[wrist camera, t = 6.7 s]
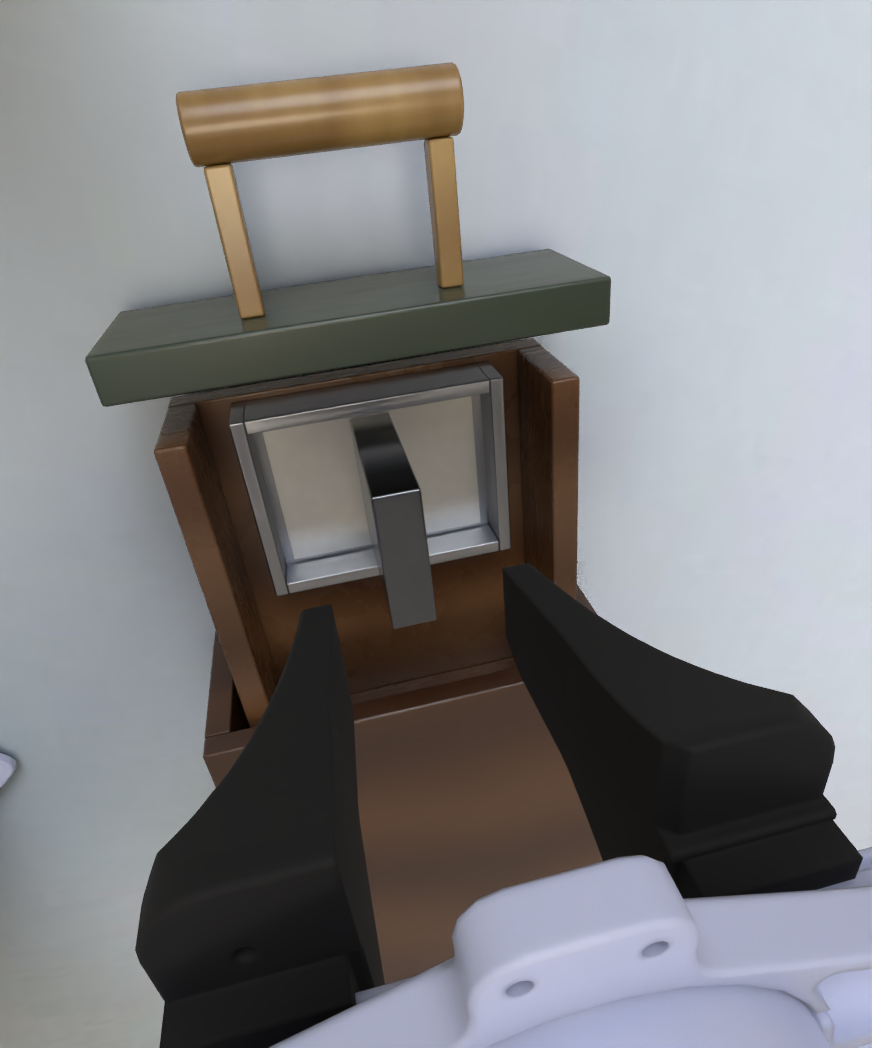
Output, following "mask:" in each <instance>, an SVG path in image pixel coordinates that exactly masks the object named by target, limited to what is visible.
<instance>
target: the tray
mask: <svg viewBox="0 0 872 1048" xmlns="http://www.w3.org/2000/svg"><path fill="white" fill-rule="evenodd" d="M229 428H230V432H231V436H232V439H233V443H234V446H235V450H236V454H237V457H238V461H239V464H240V468H241V471H242V475H243V479H244V482H245V486H246V489H247V493H248V497H249V500H250V504H251V507H252V511H253V514H254V518H255V522H256V525H257V529H258V532H259V536H260V540H261V543H262V547H263V550H264V554H265V557H266V561H267V565H268V568H269V572H270V575H271V579H272V583H273V586H274V590H275V593H276V596H281V595H286V594H289V593H290V594H291V593H296V592H301V591H306V590H311V589H315V588H320V587H325V586H330V585H335V584H340V583H345V582H350V581H355V580H359V579H364V578H369V577H374V576H379V575H380V579H381V583H382V587H383V591H384V595H385V599H386V603H387V607H388V611H389V615H390V619H391V623H392V627H393V628H394V629H398V628H402V627H407V626H412V625H416V624H421V623H426V622H430V621H435V620H436V619H437V614H436V606H435V598H434V590H433V582H432V574H431V566H430V565H433V564H438V563H443V562H447V561H452V560H457V559H462V558H467V557H472V556H477V555H482V554H487V553H491V552H496V551H499V549H500V550H506V549H510V548H511V531H510V510H509V489H508V468H507V447H506V426H505V405H504V384H503V377H502V376H501V375H500V374H499V373H498V372H497V371H496V370H495V368H494V367H493V366H492V365H491V364H490V363H489V362H488V361H484V362H478V363H472V364H466V365H460V366H454V367H448V368H443V369H437V370H431V371H425V372H419V373H413V374H407V375H401V376H395V377H389V378H383V379H377V380H371V381H365V382H359V383H353V384H347V385H341V386H335V387H329V388H323V389H317V390H311V391H305V392H299V393H293V394H287V395H281V396H275V397H269V398H263V399H257V400H251V401H245V402H239V403H233V404H231V411H230V419H229Z"/></svg>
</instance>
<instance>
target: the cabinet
mask: <svg viewBox="0 0 872 1048" xmlns="http://www.w3.org/2000/svg"><path fill="white" fill-rule="evenodd" d="M576 600H577V601H578V602H580V603H581V604H582V605H584V606H585V607H587V608H588V609H589V610H591V611H592V612H594V613H595V614H596V612H595V611H594V609H593V608H592V606H591V605H590V603H589V601H588V600H587V598H586V597H585V595H584V594H583V592H582V591H581V589H580V588H579V586H578V585H577V589H576ZM352 706H353V713H354V731H355V750H356V770H357V790H358V806H359V817H360V826H361V832H362V839H363V846H364V852H365V859H366V866H367V872H368V879H369V885H370V892H371V898H372V905H373V911H374V918H375V924H376V931H377V937H378V943H379V950H380V956H381V962H382V968H383V975H384V981H385V984H389V983H392V982H396V981H399V980H403V979H406V978H410V977H413V976H416V975H418V974H420V973H422V972H424V971H426V970H428V969H430V968H432V967H434V966H436V965H438V964H440V963H442V962H444V961H447V960H449V959H451V958H453V957H454V954H455V953H454V946H453V940H452V935H453V932H454V928H455V925H456V921H457V919H458V918H459V916H460V915H461V914H462V913H463V912H464V911H465V910H466V909H467V908H468V907H469V906H470V905H472V904H473V903H474V902H475V901H476V900H477V899H479V898H482V897H484V896H486V895H488V894H491V893H493V892H495V891H498V890H500V889H503V888H506V887H510V886H514V885H518V884H521V883H525V882H529V881H532V880H536V879H540V878H543V877H547V876H551V875H555V874H558V873H562V872H566V871H569V870H573V869H577V868H580V867H584V866H588V865H591V864H595V863H599V862H603V860H602V857H601V854H600V852H599V849H598V846H597V843H596V841H595V838H594V835H593V833H592V830H591V828H590V825H589V822H588V820H587V817H586V814H585V812H584V809H583V806H582V804H581V801H580V799H579V796H578V794H577V791H576V788H575V786H574V783H573V781H572V778H571V776H570V773H569V771H568V768H567V766H566V764H565V762H564V760H563V758H562V756H561V753H560V751H559V749H558V748H557V746H556V744H555V742H554V740H553V738H552V736H551V734H550V732H549V730H548V728H547V726H546V724H545V723H544V721H543V719H542V717H541V715H540V713H539V711H538V709H537V707H536V705H535V703H534V701H533V700H532V698H531V696H530V694H529V692H528V690H527V688H526V686H525V684H524V682H523V680H522V678H521V676H520V674H519V671H518V669H517V667H514V668H510V669H506V670H501V671H497V672H493V673H488V674H484V675H479V676H475V677H471V678H466V679H462V680H457V681H453V682H449V683H444V684H440V685H436V686H431V687H427V688H422V689H418V690H414V691H409V692H405V693H400V694H396V695H392V696H387V697H383V698H378V699H374V700H370V701H365V702H361V703H357V704H352ZM256 727H257V726H256ZM256 727H251V728H250V726H249V723H248V720H247V717H246V715H245V712H244V709H243V706H242V703H241V700H240V697H239V695H238V692H237V689H236V686H235V683H234V680H233V677H232V675H231V672H230V669H229V666H228V663H227V660H226V657H225V654H224V652H223V649H222V646H221V643H220V640H219V637H218V634H217V632H215V641H214V649H213V659H212V670H211V680H210V690H209V700H208V710H207V720H206V730H205V743H204V753H203V758H204V760H205V763H206V765H207V767H208V770H209V772H210V775H211V777H212V779H213V782H214V784H215V787H217V786H218V785H219V784H220V782H221V781H222V780H223V778H224V777H225V776H226V774H227V773H228V771H229V770H230V769H231V767H232V766H233V764H234V763H235V761H236V760H237V758H238V757H239V755H240V753H241V752H242V750H243V749H244V747H245V746H246V744H247V743H248V741H249V739H250V738H251V736H252V734H253V732H254V731H255V729H256Z"/></svg>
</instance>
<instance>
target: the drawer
mask: <svg viewBox="0 0 872 1048" xmlns="http://www.w3.org/2000/svg"><path fill="white" fill-rule="evenodd" d="M176 105H177V111H178V116H179V120H180V125H181V129H182V133H183V137H184V140H185V144H186V147H187V150H188V153H189V156H190V159H191V161H192V163H193V165H194V166H196V167H203V166H206V167H205V168H204V174H205V178H206V182H207V186H208V190H209V194H210V198H211V202H212V206H213V210H214V214H215V218H216V222H217V226H218V230H219V234H220V238H221V242H222V246H223V250H224V254H225V259H226V263H227V267H228V271H229V275H230V279H231V283H232V287H233V291H234V295H232V296H225V297H218V298H212V299H205V300H198V301H191V302H184V303H178V304H171V305H164V306H157V307H150V308H144V309H137V310H130V311H123V312H120V313H119V314H118V315H117V317H116V318H115V319H114V321H113V322H112V323H111V325H110V326H109V327H108V329H107V330H106V331H105V333H104V334H103V335H102V337H101V338H100V339H99V340H98V342H97V343H96V344H95V346H94V347H93V348H92V350H91V351H90V352H89V354H88V355H87V356H86V358H85V362H86V364H87V367H88V370H89V372H90V375H91V377H92V380H93V383H94V385H95V388H96V391H97V393H98V396H99V399H100V401H101V404H102V405H103V406H106V407H108V406H114V405H120V404H126V403H133V402H139V401H145V400H151V399H157V398H163V397H169V396H175V395H181V394H187V393H194V392H200V391H206V390H212V389H218V388H224V387H230V386H236V385H242V384H248V383H255V382H261V381H267V380H273V379H279V378H285V377H291V376H297V375H303V374H309V373H315V372H322V371H328V370H334V369H340V368H346V367H352V366H358V365H364V364H370V363H376V362H383V361H389V360H395V359H401V358H407V357H413V356H419V355H425V354H431V353H437V352H443V351H450V350H456V349H462V348H468V347H474V346H480V345H486V344H492V343H498V342H504V341H511V340H517V339H523V338H529V337H535V336H541V335H547V334H553V333H559V332H565V331H572V330H578V329H584V328H590V327H596V326H602V325H607V324H609V317H610V289H611V279H610V277H609V276H607V275H605V274H603V273H601V272H598V271H596V270H594V269H592V268H590V267H588V266H585V265H583V264H581V263H579V262H577V261H575V260H572V259H570V258H568V257H566V256H564V255H562V254H559V253H557V252H555V251H553V250H551V249H544V250H538V251H531V252H524V253H517V254H510V255H504V256H497V257H490V258H483V259H476V260H470V261H463V262H462V250H461V236H460V223H459V209H458V196H457V182H456V169H455V155H454V141H453V138H452V137H448V136H456V135H458V134H460V132H461V130H462V125H463V118H464V98H463V88H462V82H461V77H460V74H459V71H458V68H457V66H456V65H455V64H454V63H443V64H433V65H424V66H415V67H406V68H397V69H387V70H378V71H369V72H360V73H351V74H341V75H332V76H323V77H314V78H305V79H295V80H286V81H277V82H268V83H258V84H249V85H240V86H231V87H222V88H212V89H203V90H194V91H185V92H179V93H177V94H176ZM423 139H425V140H424V149H425V159H426V170H427V181H428V191H429V202H430V213H431V224H432V234H433V245H434V256H435V266H429V267H422V268H415V269H409V270H402V271H395V272H388V273H381V274H375V275H368V276H361V277H354V278H347V279H341V280H334V281H327V282H320V283H313V284H307V285H300V286H293V287H286V288H280V289H273V290H266V291H261V289H260V285H259V280H258V276H257V272H256V267H255V263H254V258H253V254H252V250H251V245H250V241H249V236H248V232H247V228H246V223H245V219H244V214H243V210H242V205H241V201H240V197H239V192H238V188H237V183H236V179H235V175H234V170H233V166H232V164H231V163H236V162H244V161H252V160H260V159H269V158H277V157H285V156H293V155H301V154H309V153H318V152H326V151H334V150H342V149H350V148H358V147H366V146H375V145H383V144H391V143H399V142H407V141H415V140H423ZM484 361H488V362H489V363H490V364H491V365H492V366H493V367H494V368H495V370H496V371H497V372H498V373H499V374H500V375H501V376H502V377H503V384H504V405H505V426H506V447H507V468H508V489H509V510H510V531H511V548H510V549H506V550H500V549H499V551H496V552H491V553H487V554H482V555H477V556H472V557H467V558H462V559H457V560H452V561H447V562H443V563H438V564H433V565H430V566H431V574H432V582H433V590H434V598H435V606H436V614H437V619H436V620H435V621H430V622H426V623H421V624H416V625H412V626H407V627H402V628H398V629H394V628H393V627H392V623H391V619H390V615H389V611H388V607H387V603H386V599H385V595H384V591H383V587H382V583H381V579H380V575H379V576H374V577H369V578H364V579H359V580H355V581H350V582H345V583H340V584H335V585H330V586H325V587H320V588H315V589H311V590H306V591H301V592H296V593H291V594H290V593H289V594H286V595H281V596H276V593H275V590H274V586H273V583H272V579H271V575H270V572H269V568H268V565H267V561H266V557H265V554H264V550H263V547H262V543H261V540H260V536H259V532H258V529H257V525H256V522H255V518H254V514H253V511H252V507H251V504H250V500H249V497H248V493H247V489H246V486H245V482H244V479H243V475H242V471H241V468H240V464H239V461H238V457H237V454H236V450H235V446H234V443H233V439H232V436H231V432H230V428H229V419H230V411H231V404H233V403H239V402H245V401H251V400H257V399H263V398H269V397H275V396H281V395H287V394H293V393H299V392H305V391H311V390H317V389H323V388H329V387H335V386H341V385H347V384H353V383H359V382H365V381H371V380H377V379H383V378H389V377H395V376H401V375H407V374H413V373H419V372H425V371H431V370H437V369H443V368H448V367H454V366H460V365H466V364H472V363H478V362H484ZM578 442H579V377H578V376H577V375H576V374H575V373H573V372H572V371H571V370H570V369H568V368H567V367H566V366H565V365H564V364H562V363H561V362H560V361H559V360H558V359H556V358H555V357H554V356H553V355H552V354H550V353H549V352H548V351H547V350H546V349H544V348H543V347H542V346H541V345H540V344H539V343H538V342H537V341H536V340H534V339H526V340H520V341H514V342H508V343H502V344H496V345H489V346H483V347H477V348H471V349H465V350H459V351H453V352H447V353H441V354H435V355H429V356H423V357H416V358H410V359H404V360H398V361H392V362H386V363H380V364H374V365H368V366H362V367H356V368H350V369H343V370H337V371H331V372H325V373H319V374H313V375H307V376H301V377H295V378H289V379H283V380H277V381H270V382H264V383H258V384H252V385H246V386H240V387H234V388H228V389H222V390H216V391H210V392H203V393H197V394H191V395H185V396H179V397H173V398H171V401H170V404H169V407H168V411H167V414H166V417H165V420H164V423H163V426H162V429H161V432H160V435H159V438H158V441H157V444H156V447H155V450H154V454H155V457H156V460H157V463H158V466H159V469H160V471H161V474H162V477H163V480H164V483H165V486H166V489H167V491H168V494H169V497H170V500H171V503H172V506H173V509H174V511H175V514H176V517H177V520H178V523H179V526H180V529H181V531H182V534H183V537H184V540H185V543H186V546H187V549H188V551H189V554H190V557H191V560H192V563H193V566H194V569H195V572H196V574H197V577H198V580H199V583H200V586H201V589H202V592H203V594H204V597H205V600H206V603H207V606H208V609H209V612H210V614H211V617H212V620H213V623H214V626H215V629H216V632H217V634H218V637H219V640H220V643H221V646H222V649H223V652H224V654H225V657H226V660H227V663H228V666H229V669H230V672H231V675H232V677H233V680H234V683H235V686H236V689H237V692H238V695H239V697H240V700H241V703H242V706H243V709H244V712H245V715H246V717H247V720H248V723H249V726H250V728H251V727H256V726H257V725H258V724H259V722H260V720H261V718H262V716H263V714H264V712H265V710H266V708H267V706H268V704H269V702H270V700H271V697H272V695H273V693H274V691H275V689H276V687H277V684H278V682H279V680H280V677H281V675H282V672H283V669H284V667H285V664H286V661H287V659H288V656H289V653H290V650H291V647H292V644H293V641H294V638H295V634H296V630H297V626H298V621H299V615H300V614H301V612H302V611H303V610H304V609H309V608H313V607H318V606H323V605H328V604H331V605H332V609H333V613H334V618H335V622H336V627H337V631H338V635H339V640H340V644H341V649H342V653H343V657H344V662H345V666H346V671H347V676H348V682H349V688H350V694H351V700H352V704H357V703H361V702H365V701H370V700H374V699H378V698H383V697H387V696H392V695H396V694H400V693H405V692H409V691H414V690H418V689H422V688H427V687H431V686H436V685H440V684H444V683H449V682H453V681H457V680H462V679H466V678H471V677H475V676H479V675H484V674H488V673H493V672H497V671H501V670H506V669H510V668H514V667H517V666H516V663H515V661H514V658H513V655H512V652H511V649H510V647H509V644H508V641H507V638H506V626H505V609H504V591H503V574H502V568H506V567H510V566H515V565H520V564H525V563H529V564H530V565H532V566H533V567H534V568H536V569H537V570H538V571H539V572H541V573H542V574H543V575H544V576H546V577H547V578H548V579H549V580H551V581H552V582H553V583H554V584H556V585H557V586H558V587H560V588H561V589H562V590H563V591H565V592H566V593H567V594H569V595H570V596H571V597H573V598H574V599H575V600H576V589H577V515H578Z"/></svg>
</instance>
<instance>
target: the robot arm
mask: <svg viewBox="0 0 872 1048" xmlns="http://www.w3.org/2000/svg"><path fill="white" fill-rule="evenodd" d="M502 574H503V591H504V609H505V626H506V638H507V641H508V644H509V647H510V649H511V652H512V655H513V658H514V661H515V663H516V666H517V669H518V671H519V674H520V676H521V678H522V680H523V682H524V684H525V686H526V688H527V690H528V692H529V694H530V696H531V698H532V700H533V701H534V703H535V705H536V707H537V709H538V711H539V713H540V715H541V717H542V719H543V721H544V723H545V724H546V726H547V728H548V730H549V732H550V734H551V736H552V738H553V740H554V742H555V744H556V746H557V748H558V749H559V751H560V753H561V756H562V758H563V760H564V762H565V764H566V766H567V768H568V771H569V773H570V776H571V778H572V781H573V783H574V786H575V788H576V791H577V794H578V796H579V799H580V801H581V804H582V806H583V809H584V812H585V814H586V817H587V820H588V822H589V825H590V828H591V830H592V833H593V835H594V838H595V841H596V843H597V846H598V849H599V852H600V854H601V857H602V860H603V862H599V863H595V864H591V865H588V866H584V867H580V868H577V869H573V870H569V871H566V872H562V873H558V874H555V875H551V876H547V877H543V878H540V879H536V880H532V881H529V882H525V883H521V884H518V885H514V886H510V887H506V888H503V889H500V890H498V891H495V892H493V893H491V894H488V895H486V896H484V897H482V898H479V899H477V900H476V901H475V902H474V903H473V904H472V905H470V906H469V907H468V908H467V909H466V910H465V911H464V912H463V913H462V914H461V915H460V916H459V918H458V919H457V921H456V925H455V928H454V932H453V935H452V940H453V946H454V953H455V954H454V957H453V958H451V959H449V960H447V961H444V962H442V963H440V964H438V965H436V966H434V967H432V968H430V969H428V970H426V971H424V972H422V973H420V974H418V975H416V976H413V977H410V978H406V979H403V980H399V981H396V982H392V983H389V984H385V981H384V975H383V968H382V962H381V956H380V950H379V943H378V937H377V931H376V924H375V918H374V911H373V905H372V898H371V892H370V885H369V879H368V872H367V866H366V859H365V852H364V846H363V839H362V832H361V826H360V817H359V806H358V790H357V770H356V750H355V731H354V713H353V706H352V700H351V694H350V688H349V682H348V676H347V671H346V666H345V662H344V657H343V653H342V649H341V644H340V640H339V635H338V631H337V627H336V622H335V618H334V613H333V609H332V605H331V604H328V605H323V606H318V607H313V608H309V609H304V610H303V611H302V612H301V614H300V615H299V621H298V626H297V630H296V634H295V638H294V641H293V644H292V647H291V650H290V653H289V656H288V659H287V661H286V664H285V667H284V669H283V672H282V675H281V677H280V680H279V682H278V684H277V687H276V689H275V691H274V693H273V695H272V697H271V700H270V702H269V704H268V706H267V708H266V710H265V712H264V714H263V716H262V718H261V720H260V722H259V724H258V725H257V727H256V729H255V731H254V732H253V734H252V736H251V738H250V739H249V741H248V743H247V744H246V746H245V747H244V749H243V750H242V752H241V753H240V755H239V757H238V758H237V760H236V761H235V763H234V764H233V766H232V767H231V769H230V770H229V771H228V773H227V774H226V776H225V777H224V778H223V780H222V781H221V782H220V784H219V785H218V786H217V787H216V789H215V790H214V791H213V792H212V794H211V795H210V796H209V797H208V799H207V800H206V801H205V802H204V804H203V805H202V806H201V807H200V809H199V810H198V811H197V812H196V813H195V815H194V816H193V817H192V818H191V819H190V820H189V821H188V822H187V823H186V824H185V825H184V826H183V827H182V829H181V830H180V831H179V832H178V833H177V834H176V835H175V836H174V837H173V838H172V839H171V840H170V841H169V842H168V843H167V844H166V845H165V846H164V847H163V848H162V849H161V850H160V851H159V852H158V853H157V855H156V858H155V861H154V864H153V867H152V870H151V873H150V876H149V880H148V883H147V887H146V890H145V893H144V897H143V902H142V906H141V913H140V921H139V928H138V935H137V942H136V949H135V950H136V953H137V956H138V959H139V962H140V964H141V965H142V967H143V968H144V970H145V972H146V973H147V975H148V976H149V978H150V979H151V981H152V982H153V984H154V986H155V987H156V989H157V990H158V992H159V993H160V995H161V996H162V998H163V1000H164V1001H165V1005H164V1014H163V1023H162V1031H161V1040H160V1048H872V847H870V848H866V849H863V850H859V851H857V849H856V848H855V847H854V846H853V845H852V843H851V842H850V841H849V840H848V838H847V837H846V836H845V835H844V833H843V832H842V831H841V830H840V828H839V827H838V826H837V825H836V823H835V822H834V821H833V819H835V818H836V815H837V814H836V811H835V809H834V807H833V806H832V805H831V804H830V803H829V801H828V800H827V799H826V798H825V796H824V795H823V792H824V789H825V786H826V783H827V780H828V776H829V773H830V770H831V767H832V764H833V759H834V752H835V745H834V741H833V738H832V736H831V735H830V734H829V733H828V731H827V730H826V729H825V728H824V727H823V726H822V725H821V724H820V722H819V721H818V720H817V719H816V718H815V717H814V716H813V714H812V713H811V712H810V711H809V710H808V709H807V708H806V707H805V706H804V705H803V704H802V703H801V702H800V701H799V700H797V699H796V698H795V697H794V696H793V695H791V694H787V693H783V692H779V691H775V690H771V689H767V688H763V687H759V686H755V685H752V684H748V683H744V682H741V681H738V680H735V679H732V678H729V677H725V676H722V675H719V674H716V673H713V672H711V671H708V670H705V669H702V668H700V667H697V666H695V665H692V664H690V663H687V662H685V661H683V660H680V659H678V658H675V657H673V656H671V655H669V654H666V653H664V652H662V651H660V650H658V649H656V648H654V647H652V646H650V645H648V644H646V643H644V642H642V641H640V640H638V639H636V638H634V637H633V636H631V635H629V634H627V633H625V632H624V631H622V630H620V629H619V628H617V627H615V626H614V625H612V624H611V623H609V622H607V621H606V620H604V619H603V618H601V617H600V616H598V615H597V614H595V613H594V612H592V611H591V610H589V609H588V608H587V607H585V606H584V605H582V604H581V603H580V602H578V601H577V600H575V599H574V598H573V597H571V596H570V595H569V594H567V593H566V592H565V591H563V590H562V589H561V588H560V587H558V586H557V585H556V584H554V583H553V582H552V581H551V580H549V579H548V578H547V577H546V576H544V575H543V574H542V573H541V572H539V571H538V570H537V569H536V568H534V567H533V566H532V565H530V564H529V563H525V564H520V565H515V566H510V567H506V568H502ZM15 768H16V761H15V760H14V759H13V758H12V757H10V756H8V755H5V754H2V753H0V788H1V787H2V786H3V785H4V784H5V783H6V782H7V780H8V779H9V778H10V777H11V776H12V775H13V773H14V771H15Z"/></svg>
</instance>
